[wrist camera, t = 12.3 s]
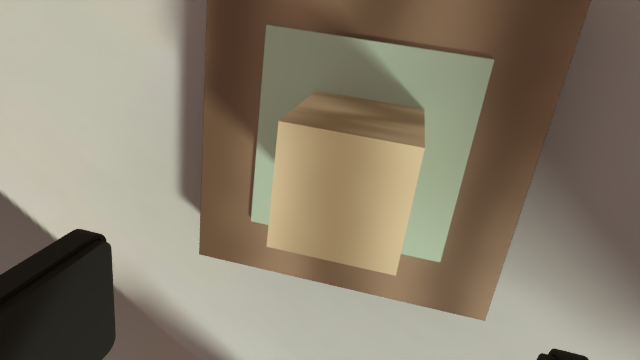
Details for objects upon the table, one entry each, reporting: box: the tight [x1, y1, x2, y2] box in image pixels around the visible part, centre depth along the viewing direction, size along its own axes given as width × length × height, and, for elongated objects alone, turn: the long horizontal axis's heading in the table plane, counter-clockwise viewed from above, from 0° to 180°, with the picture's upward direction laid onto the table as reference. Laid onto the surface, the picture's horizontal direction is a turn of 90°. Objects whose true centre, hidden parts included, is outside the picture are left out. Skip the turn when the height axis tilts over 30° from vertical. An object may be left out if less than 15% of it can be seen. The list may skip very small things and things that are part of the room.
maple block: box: [266, 91, 425, 276], centre depth 19 cm, size 5×5×6 cm
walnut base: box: [199, 0, 591, 321], centre depth 23 cm, size 16×16×3 cm
